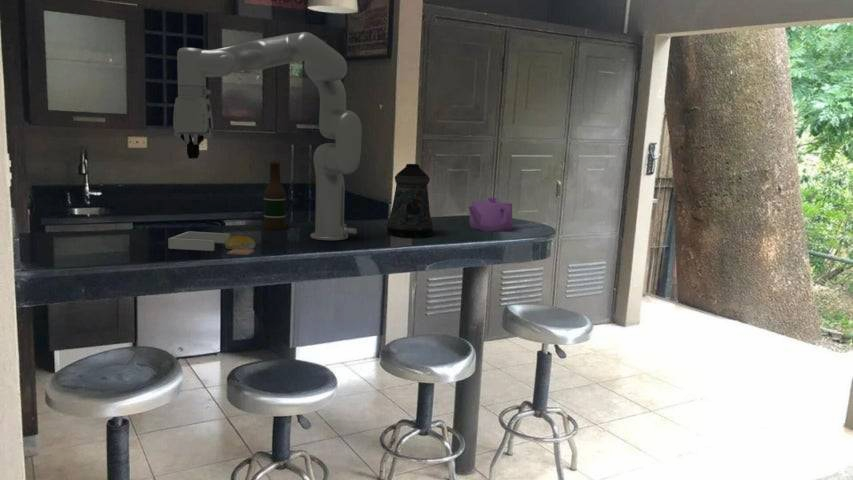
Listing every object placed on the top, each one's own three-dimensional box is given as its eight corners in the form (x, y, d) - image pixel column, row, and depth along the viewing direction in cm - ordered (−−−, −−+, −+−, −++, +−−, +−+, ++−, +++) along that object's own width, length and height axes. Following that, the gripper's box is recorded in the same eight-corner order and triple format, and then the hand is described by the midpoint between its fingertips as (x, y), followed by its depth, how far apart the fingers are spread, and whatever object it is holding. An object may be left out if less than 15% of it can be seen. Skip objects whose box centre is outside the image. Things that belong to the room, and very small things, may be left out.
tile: (254, 251, 207) (254, 249, 207) (247, 255, 201) (247, 253, 201) (234, 250, 208) (234, 248, 208) (227, 254, 202) (227, 252, 202)
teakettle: (511, 233, 263) (512, 200, 261) (466, 230, 266) (467, 198, 264) (513, 227, 280) (515, 196, 278) (470, 224, 282) (472, 193, 280)
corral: (230, 243, 219) (229, 233, 219) (213, 250, 206) (213, 240, 205) (188, 240, 220) (187, 231, 220) (168, 248, 207) (168, 238, 206)
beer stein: (395, 239, 239) (397, 165, 235) (378, 230, 257) (380, 162, 253) (439, 237, 245) (442, 166, 241) (420, 229, 263) (422, 162, 259)
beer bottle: (290, 228, 253) (290, 161, 249) (274, 230, 246) (275, 162, 242) (274, 226, 257) (274, 160, 253) (258, 228, 250) (258, 161, 246)
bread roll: (239, 245, 218) (239, 232, 217) (259, 248, 213) (259, 235, 213) (218, 248, 211) (218, 235, 210) (239, 252, 206) (239, 238, 206)
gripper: (222, 94, 201) (223, 158, 204) (172, 92, 202) (173, 156, 205) (212, 93, 194) (213, 160, 197) (160, 91, 195) (162, 157, 198)
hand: (193, 158), depth 201 cm, fingers closed
